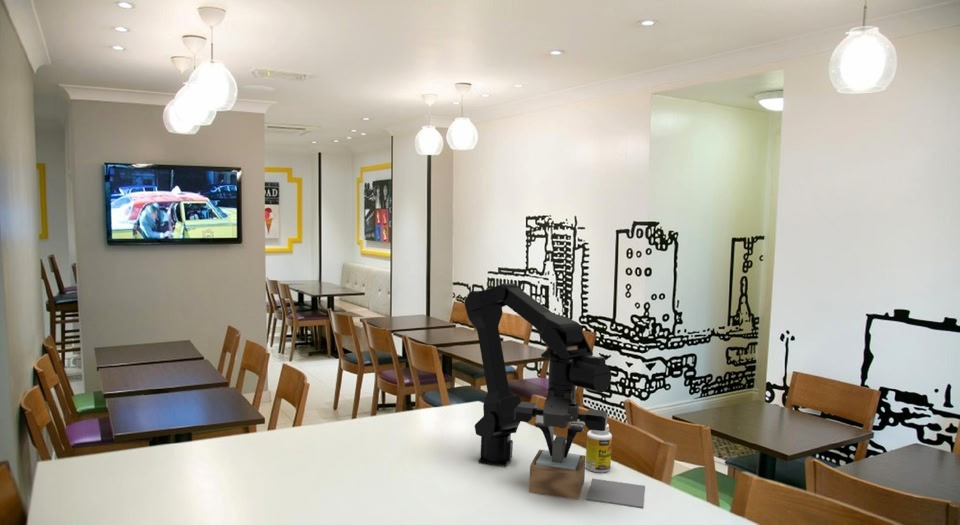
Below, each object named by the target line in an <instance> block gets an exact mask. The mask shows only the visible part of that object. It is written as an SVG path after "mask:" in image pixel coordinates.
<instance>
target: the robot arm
mask: <svg viewBox="0 0 960 525" xmlns="http://www.w3.org/2000/svg"><path fill="white" fill-rule="evenodd" d="M503 307H508V308H509V309H510V310H512V311H514V312H515V313H516V314H517V315H519V317H521V318H522V319H523V320H524V321H526V322H527V323H529V324H530V325H531V326H533V327H534V328H535V329H536V330H537V332H538V334H539V338H540V340H541V341H542V342H543V343H544V344H545V345H546V346H547V349H546V350H545V351H544V352H543V353H541V354H540V357H541V358H544V359H548V380H547V381H548V382H547V396H546V398H545V402H544V407H543V408H542V407H541V408H539V407H538V403H537V402H531V401H530V402H529V401H523V400H522V399H521V397H520V395H519V394H514V393H513V391H511V389H510V387H509V381H508V375H507V374H508V373H507V369H506V363H505V358H504V352H503V346H502V339H501V336H500V335H501V334H500V330H499V327H500V326H499V325H500V323H501V319H502V316H503ZM464 308H465V311H466V314H467V318H468V320H469V322H470V323H471V324H472V325H473V327H474V328H475V330H476V332H477V337H478V344H479V349H480V356H481V361H482V367H483V374H484V379H485V385H486V391H487V392H486V393H487V394H486V396H485V400H484V402H483V404H482V405H483V406H482V407H483V408H482V409H483V416H482V417H480V419H479V420H477V422H476V423H475V424H474V430H475V434H476V435H477V436H479V437H480V438H481V439H480V457H479V459H478V460H477V462H478V463H481V464H487V465H495V466H499V467H500V466H503V467H506V466H507V465H508V464H509V462H510V461H511V460H512V458H513V452H514V451H513V447H514V446H513V445H514V441H513V439H512V438H511V436H512V434H516V433H517V430H518V428H519V426H520V423H521V422H524V423H528V422H530V421H531V420H532V419H533V418H535V423H534V427H536V428H539V429H540V430H541V431H542V434H543V436H544V440H545V442H546V444H547V445H546V446H547V448H548V449H547V450H549V453H550V456H552V448H553V441H554V439H555V438H554V437H555V436H554V427H555V428H559V429H566V428H567V435H566V446H565V453H564V458H567V455H568V453H570V449H571V447H572V444H573V442H574V439H575V437H576V435H577V433H583V432H584V429H585V427H586V428H587V429H588V430H589V431H590V430H596V431H605V429H606V425H607V424H608V413H607V411H606V410H603V409H593V408H588V409H587V412H586V413H583V412H580V407H579V403H577V402H576V391H577V388H579V389H584V390H588V391H591V392H596V393H600V394H602V393H604V392H606V391H607V389H609V386H610V385H611V381H612V373H611V369H610V367H609V365H608V364H607V363H606V361H607V360H606V357H603V356H594V352H593V351H592V349H591V346H590V344H589V343H588V341H587V339H586V336H585V335H584V332H583V326H582V325H581V324H580V323H579V322H577V321H575V320H573V319H571V318H569V317H567V316H564V315H560V314H557V313H554V312H552V311H551V310H550V309H548V308H547V307H546V306H544V305H542V304H541V303H540V302H538V301H537V300H536V299H534V298H533V297H532V296H530V295H529V294H528V293H527V292H525V291H524V290H522V289H521V287H520V286H519V285H518V284H516V283H500V284H498V285H496V286H493V287H490V288H486V289H483V290H472V291H470V292H468V293H467V295H466V298H465V299H464ZM521 400H522V401H521Z"/></svg>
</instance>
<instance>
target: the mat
mask: <svg viewBox="0 0 960 525" xmlns="http://www.w3.org/2000/svg"><path fill="white" fill-rule="evenodd" d="M589 485H590V486H589V487H588V488H589V489H588V491H587V495H586V498H585V499H586V501H590V502H591V501H592V502H599V503H605V504H611V505H617V506H618V505H619V506H625V507H631V508H638V509H644V503H645V502H644V501H645V492H646V491H645V489H646V485H642V484H633V483H629V482H628V483H627V482H621V481H613V480H606V479H598V478H592V479H591V481H590V484H589Z"/></svg>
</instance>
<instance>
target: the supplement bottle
mask: <svg viewBox="0 0 960 525" xmlns="http://www.w3.org/2000/svg"><path fill="white" fill-rule="evenodd" d="M586 434H587V435H586V447H585V448H586V449H585V450H586V451H585V456H586V458H585V469H587V470H588V471H591V472H593V473H598V474H599V473H600V474H601V473H607V472H609V471H610V470H611V463H612V462H611V461H612V446H613V443H612V442H613V435H612V433H611V432H610V425H609V423H607V425H606V429H605V431H596V430H589V431H587V433H586Z"/></svg>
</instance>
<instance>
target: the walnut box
mask: <svg viewBox="0 0 960 525" xmlns="http://www.w3.org/2000/svg"><path fill="white" fill-rule="evenodd" d="M543 450H544V449H538V450H537V453H536V454H535V456H534V458H533V459H532V462H531V463H530V465H529V479H528V480H529V483H528V493H530V492H531V494H536V495H537V494H538V495H545V496H552V497H557V498H564V499H565V498H566V499H573V500H579V499H580V496H581V493H582V490H583V487H584V483H585V475H586V465H585V464H586V454H579V455H580V461H579V464H578V466H577V469H576V470H569V469H561V468H554V467H547V466H540V465H536V462H537V460H538V458H539V456H540V454H541V453H542V451H543Z"/></svg>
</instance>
